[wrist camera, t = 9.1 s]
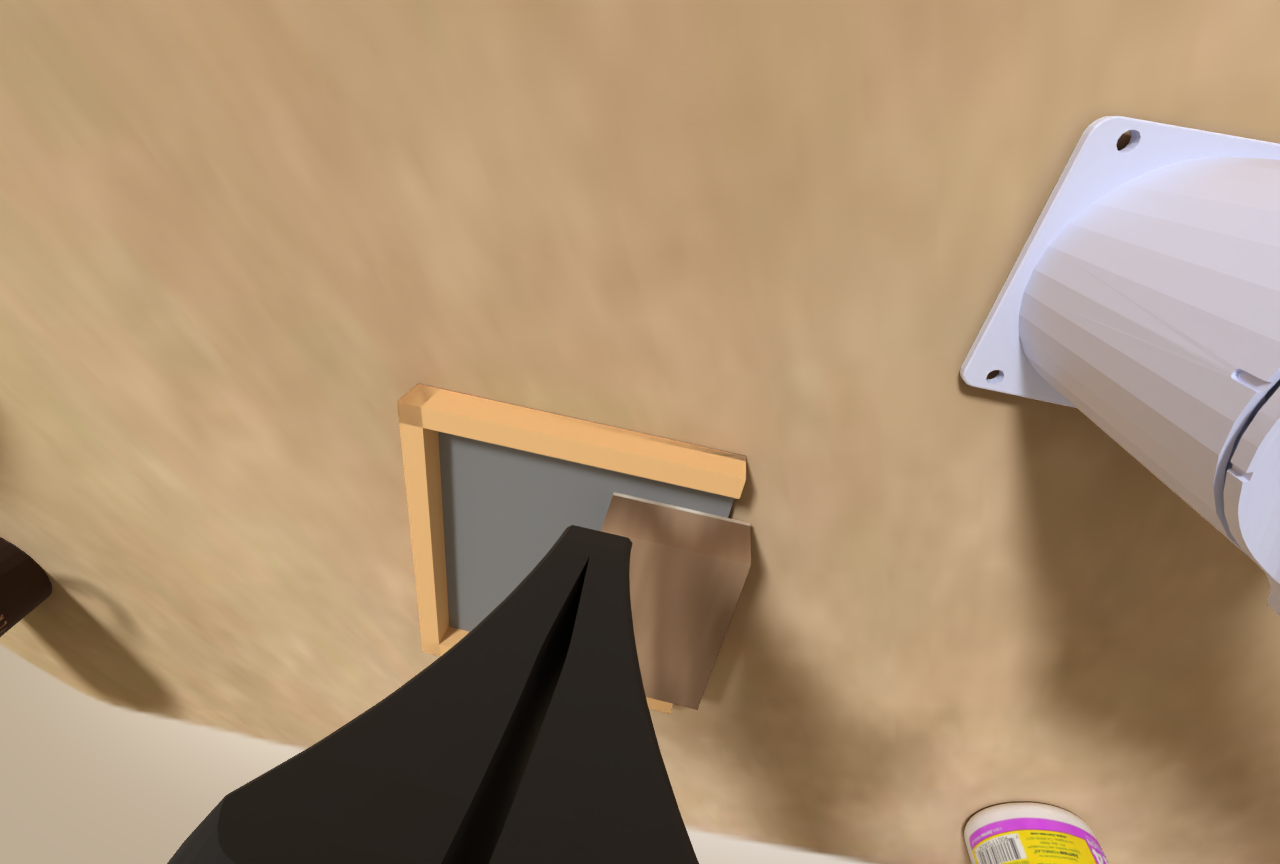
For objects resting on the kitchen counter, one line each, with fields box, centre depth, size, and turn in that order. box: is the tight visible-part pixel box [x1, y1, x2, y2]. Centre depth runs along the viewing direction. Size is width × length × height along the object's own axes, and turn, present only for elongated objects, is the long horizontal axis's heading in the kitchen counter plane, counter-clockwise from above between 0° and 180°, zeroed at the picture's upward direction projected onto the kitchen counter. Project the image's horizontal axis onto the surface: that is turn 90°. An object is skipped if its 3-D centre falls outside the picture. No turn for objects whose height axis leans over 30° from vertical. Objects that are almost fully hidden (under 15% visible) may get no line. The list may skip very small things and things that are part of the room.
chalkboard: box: [397, 384, 746, 714], centre depth 25 cm, size 14×16×2 cm
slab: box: [601, 492, 751, 710], centre depth 24 cm, size 2×10×6 cm
